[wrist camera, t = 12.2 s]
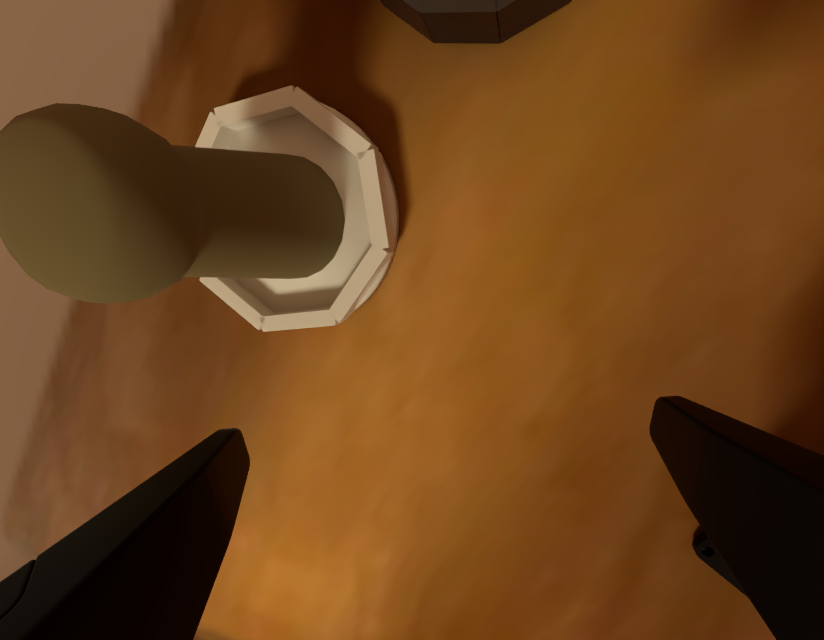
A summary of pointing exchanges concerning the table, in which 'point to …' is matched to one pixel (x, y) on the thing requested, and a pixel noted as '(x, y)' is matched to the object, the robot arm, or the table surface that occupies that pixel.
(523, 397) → the table surface
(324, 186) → the cork
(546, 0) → the dark grey ring
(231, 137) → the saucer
